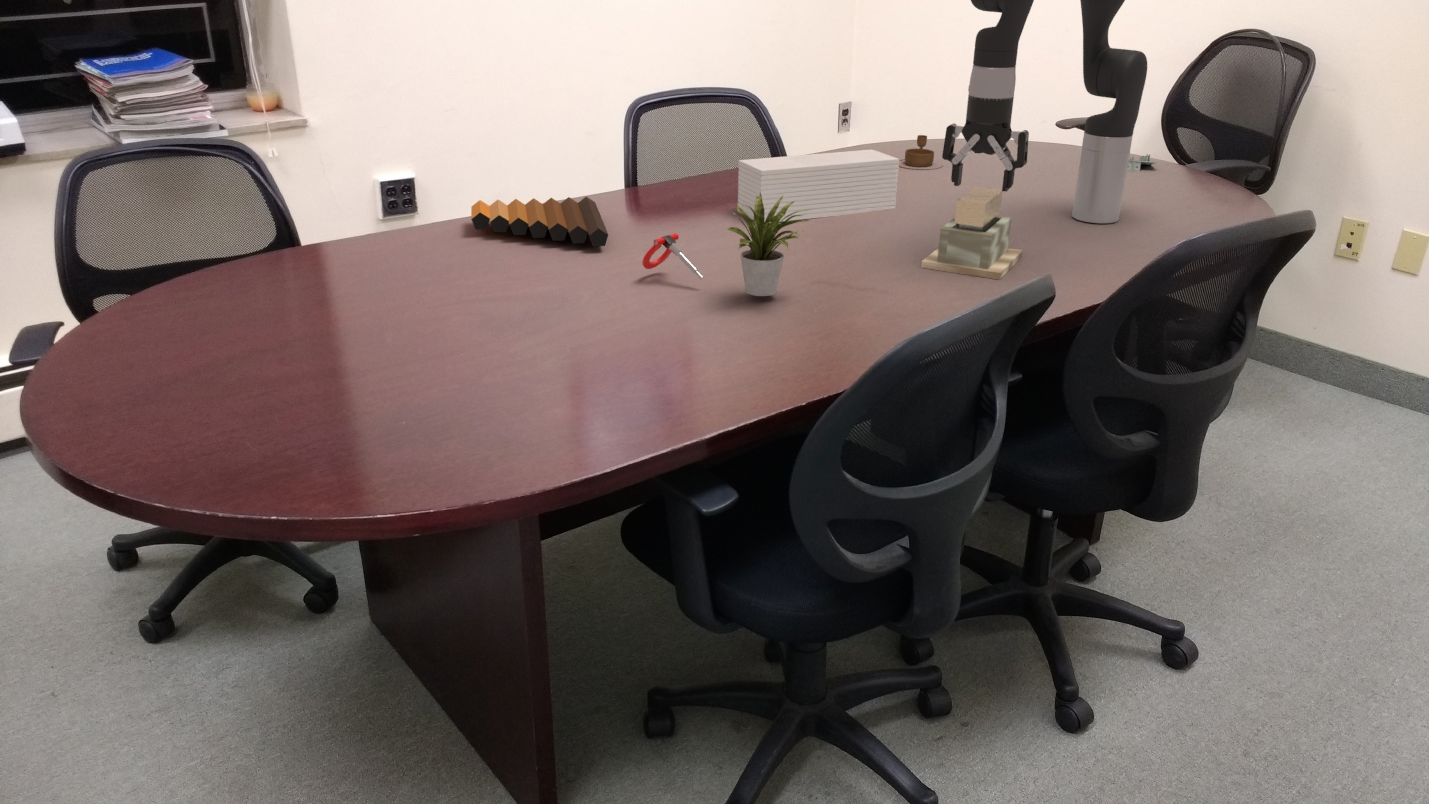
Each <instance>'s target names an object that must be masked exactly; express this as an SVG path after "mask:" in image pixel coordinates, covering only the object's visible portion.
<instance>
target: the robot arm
mask: <svg viewBox="0 0 1429 804" xmlns="http://www.w3.org/2000/svg"><path fill="white" fill-rule="evenodd" d="M1125 1H1126V0H1080V9H1081V19H1082V20H1081V23H1082V24H1081V25H1082V71H1083V72H1082V75H1083V76H1082V77H1083V84H1084V87H1085V90H1086V92H1087V93H1088V94H1090V95H1092V96H1094V97H1095V96H1096V97H1100V98H1108V99H1115V101H1114V105H1113V107H1112V108H1111V109H1110V110H1109V111H1105V112H1103V113H1098V114H1093V115H1090V116H1089V117H1087V119H1086V120H1085V124H1084V130H1083V131H1084V132H1083V138H1082V145H1081V152H1080V158H1079V165H1078V171H1077V172H1078V173H1077V178H1076V184H1075V192H1074V198H1073V204H1072V205H1073V206H1072V211H1071V217H1072V218H1073V219H1075V220H1077V221H1080V222H1084V223H1093V224H1113V223H1117V222H1118V221H1119V220H1120V216H1121V215H1120V214H1121V208H1122V203H1123V196H1124V191H1125V190H1124V189H1125V183H1126V179H1127V172H1128V171H1127V167H1129V166H1128V161H1129V160H1130V154H1131V147H1132V141H1133V137H1134V131H1135V126H1136V123H1137V120H1138V117H1139V112H1140V106H1141V103H1142V97H1143V93H1144V90H1145V89H1144V88H1145V85H1146V80H1147V75H1148V74H1147V73H1148V59H1147V56H1146V54H1145V53H1144V52H1143V51H1141V50H1135V49H1125V48H1123V49H1122V48H1116V47H1111V46H1110V45H1109V28H1110V27H1111V24H1112V22H1113V21H1114V18H1115V17H1116V15H1117V14H1118V12H1119V10H1120V9H1121V8H1122V6H1123V5H1124V2H1125ZM970 2H971V4H972V6H974V7H975V8H976V9H977V10H979V11H983V12H988V13H989V12H990V13H991V12H993V13H1001V14H1000V18H999V19H998V22H997V23H996V25H995V26H989V27H984V28H982V29H980V30H979V31H978V32H977V33H976V35H975V36H976V37H975V42H974V52H973V61H972V64H973V65H972V69H971V73H970V79H969V84H968V87H967V88H968V91H967V92H968V96H967V97H968V98H967V106H966V115H965V116H966V117H965V123H964V126H962V125H957V124H956V123H952V124H951V123H950V124H949V125H948V126H947V127H946V129H945V134H944V136H945V137H944V140H943V141H944V142H943V150H942V157H941V158H942V159H943V160H945V161H948V162H950V163H951V164H952V165H951V174H950V175H951V176H950V180H951V182H952V183H953V186H954V187H959V186H960V185H961V184H962V180H963V179H962V178H963V168H964V163H963V162H962V161H963V160H964V159H965V158H966V156H968V155H969V153H970V152H973V153H974V154H986V155H989V156H992V155H995V154H996V156H997V158H998V159H999V160H1000V161H1001V163H1002V164H1003V166H1004V167H1005V169H1004V171H1003V180H1002V189H1001V190H1002V191H1003V192H1008V191H1009V189H1011V188H1012V187H1013V185H1014V180H1015V171H1016V169H1021V168H1022V169H1023V167H1024V166H1026V165H1027V164H1028V151H1029V135H1030V134H1029V131H1028V130H1026V129H1024V130H1022V131H1018V130H1017V131H1013V130H1012V128H1011V127H1012V126H1011V125H1012V124H1011V123H1012V114H1013V106H1014V99H1015V90H1016V89H1015V87H1016V81H1017V80H1016V78H1017V77H1016V75H1017V73H1016V70H1017V69H1016V67H1017V59H1018V58H1017V57H1018V50H1019V43H1020V39H1021V36H1022V33H1023V30H1024V27H1025V25H1026V22H1027V19H1028V16H1029V15H1030V12H1031V9H1032V7H1033V4H1034V2H1035V0H970ZM960 134H962V136H963V138H964V140H965V142H966V143H965V145H963V146H962V147H961V148H960V149H959V151H958V153H954V150H955V142H956V139H957V138H959V136H960ZM1011 139H1013V143H1014V144H1015V145H1017V148H1016V149H1017V151H1016V159H1014V158H1013V156H1012V154H1011V153H1012V152H1011V151H1010V149H1009V147H1008V146H1007V143H1008V142H1009V141H1011Z"/></svg>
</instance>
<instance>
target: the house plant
mask: <svg viewBox="0 0 1429 804" xmlns="http://www.w3.org/2000/svg"><path fill="white" fill-rule="evenodd" d="M782 198H783V196H782V197H781V198H780V199H779V200H778V201H777V202H776V204H775V205H774V206H773V208H772V209H771V210H770V212H769V214H768V216H767V218H766V220H765V217H764V206H763V202H762V195H761V192H760V196H759V197H758V196H757V197H756V200H755V211H754V210H753V209H752V208H751V207H750V206H748V207H749V208H750V209H751V210H752V212H753V214H754V220H752V219H750V217H749V216H748V215H747V214H746V213H745V211H744V210H743V209H742V208H741V207H740V206H738V204H736V203H733V204H734V206H735V207H736V208H737V211H738V210H739V212H738V214H739V215H741V216H742V218H743V219H744V221H745V223H746V224H745V223H744V222H743V221H742V219H741V218H740V217H739V216H738V215H737V213H736V212H733V211H731V213H732V214H734V216H736V217H737V219H738V220H739V221H740V223H742V225H743V226H744V227H745V229H746V230H747V232H748V234H749V236H748V235H747V234H746V232H745V231H744V230H742V229H740V228H739V227H736V226H735V227H734V226H731V227H728V228H727V230H728V231H731V232H733V233H736V234H738V235H739V236H740V237H741V236H742V238H739V244H738V246H739V247H738V251H739V249H741V248H743V247H746V246H748V247H749V248H750V249H747V250H744V251H741V253H740V260H741V261H740V262H741V268H742V273H743V282H744V289H745V293H747V294H748V295H749V296H750V295H751V296H755V297H767V296H769V297H770V296H772V295H776V293H777V290H778V286H779V281H780V276H781V272H782V267H783V261H784V254H783V253H782V252H781V251H779V250H776V249H777V248H778V247H779V246H780V245H781V244H782V245H783V246H785V247H786V248H787V250H789V243H788V241H787V240H791V239H800V240H801V237H798V236H800V234H799V232H800V233H801V232H802V233H803V232H804V230H796V231H792V230H784V231H780V230H781V229H782V228H783V229H784V227H788V226H790V225H793V224H797V223H802V222H803V223H804V222H808V221H810V219H801V220H791V221H788V220H789V219H791V218H793V217H795V216H801V215H794V216H791V217H789V216H790V215H792V214H795V213H798V212H802V211H808V210H801V211H796V212H794V213H791V214H789V215H787V216H786V217H785V218H787V217H789V218H788V219H787V220H786V221H783V220H784V219H785V218H783V219H782V220H781V218H782V217H783V216H784V215H785V213H786V211H787V209H788V207H789V206H791V205H792V204H793V203H794V202H795V201H793V202H791V203H789V204H787V205H785V206H784V207H783V208H782V209H781V210H780V211H779V212H778V214H777V215H775V212H776V210H777V208H778V206H779V204H780V202H781V200H782ZM745 206H747V205H745ZM774 215H775V216H774ZM780 220H781V221H782V222H781V221H780ZM779 221H780V222H779ZM746 225H747V226H746ZM779 231H780V232H779ZM785 234H788V235H785ZM794 234H795V235H794ZM783 235H785V236H783ZM797 235H798V236H797ZM781 236H782V237H781ZM750 238H751V239H750Z"/></svg>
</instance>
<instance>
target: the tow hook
mask: <svg viewBox="0 0 1429 804" xmlns="http://www.w3.org/2000/svg"><path fill="white" fill-rule="evenodd" d="M679 238H680V237H679V234H678V233H671V234H668V235H665V236H661V237H660V238H655V239H654V240H653V245H652V246H651V248H650V249H648V251H647V252H646V253H645V254H644V257H643V258H642V259H643V260H642V262H641V265H642V266H643V267H644V269H647V270H652V269H655V268H656V267H657V266H660V265H661V264H662V263H664V262H665V260H667V259H668V258H669V256H670V255H671V254H672V253H673V254H674V255H675V257H678V258H679V259H680V260H681V261H682V262H683V264H684V265H685V266H686V267H687V268H688V269H689V270H690V271H691V273H693V274H695V275H696V276H697V278H698V279H700V280H703V279H704V276H703V275H702V273H700V272H699V269H698V268H697V267H696V266H695V264H693V263H692V261H690V260H689V258H688V257H686V255H685V254H684V253H683V252H682V249H681V248H680V247H679V246H678V245H677V241H678V240H679ZM662 245H663V247H665V251H664V252H663V254H661V256H660V257H658V258H657V259H655V260H653V261H651V258H652V257H653V255H654V254H655V253H656V252H657V251H658V250H659V249H660V248H661V247H662Z"/></svg>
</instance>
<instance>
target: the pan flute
mask: <svg viewBox="0 0 1429 804" xmlns="http://www.w3.org/2000/svg"><path fill="white" fill-rule="evenodd" d="M470 208H471V213H470V214H471V215H470V217H471V218H470V219H471V222H472V224H473V227H474V229H475V231H476V230H478V231H479V230H488V227H489V223H490V224H491V227H492V229H493V231H494V232H493V233H506V232H507V229H508V225H509V227H510V229H511V231H512V234H513V236H523V235H526V234H527V230H528V229H529V231H530V233H531V236H532V238H533V239H535V238H536V239H537V238H539V239H540V238H543V239H544V238H545V237H546V235H547V232H548V231H549V234H550V237H551V240H552V241H556V242H557V241H565V240H566V237H567V232H568V234H569V235H568V236H570V240H571V242H572V245H573V244H585V243H586V241H587V236H589V239H590V242H591V245H592V247H605V246H606V244H607V240H608V238H609V233H608V230H607V228H606V225H605V224H604V223H605V222H604V221H603V218H602V216H601V213H600V211H599V209H598V206H597V203H596V202H595V201H594V200H593V199H591V198H590V197H588V196H585V197H584V198H582V199H580V201H578V202H577V201H576V200H574V199H573V198H571V197H569V196H568V197H567V198H566V199H564V200H563V201H562V202H559V201H557V200H556V199H554V198H553V197H549V198H548V200H546V201H544V202H543V203H542V202H540V201H539V200H537V199H536V198H532V199H530V200H529V201H528V202H526V203H525V204H524V203H523V202H521V201H520V200H519V199H517V198H515V199H514V200H512V201H510V203H508V204H506V203H504V202H503V201H501V200H499V199H496V200H495V201H494V202H492V203H491V204H490V205H489V204H487V203H485V202H484V201H483V200H481V199H479V200H477V202H476V203H474V204H473V205H472V206H471V207H470ZM547 230H548V231H547Z"/></svg>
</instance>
